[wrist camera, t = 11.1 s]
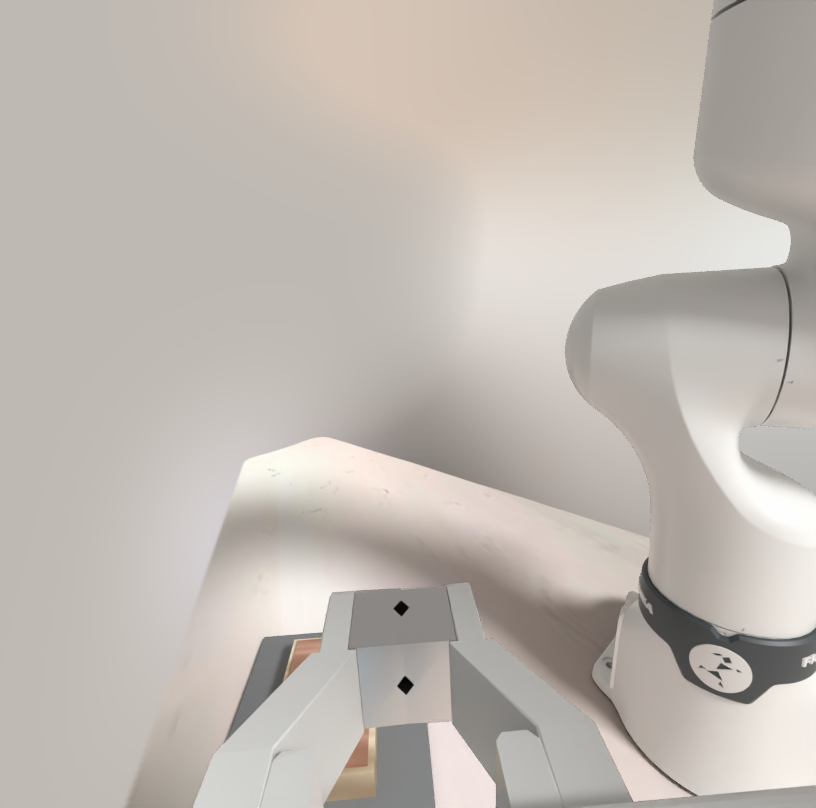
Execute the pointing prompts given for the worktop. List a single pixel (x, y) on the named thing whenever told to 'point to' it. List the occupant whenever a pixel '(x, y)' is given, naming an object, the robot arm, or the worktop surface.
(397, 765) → the rubber mat
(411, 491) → the worktop surface
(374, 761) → the flat wooden block
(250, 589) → the worktop surface
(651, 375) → the robot arm
